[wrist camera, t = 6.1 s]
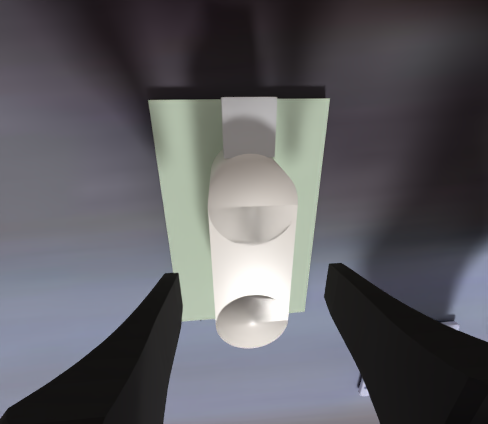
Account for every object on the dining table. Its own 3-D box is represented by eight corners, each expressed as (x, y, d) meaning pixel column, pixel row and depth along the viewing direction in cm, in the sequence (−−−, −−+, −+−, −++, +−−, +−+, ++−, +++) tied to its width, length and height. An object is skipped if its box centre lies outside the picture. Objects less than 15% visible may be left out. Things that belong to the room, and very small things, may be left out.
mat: (302, 306, 22) (304, 311, 21) (181, 315, 21) (180, 321, 20) (325, 98, 15) (329, 98, 15) (150, 99, 14) (148, 99, 14)
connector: (270, 287, 20) (285, 345, 15) (217, 291, 19) (217, 351, 15) (278, 96, 14) (307, 97, 10) (205, 97, 14) (200, 97, 9)
